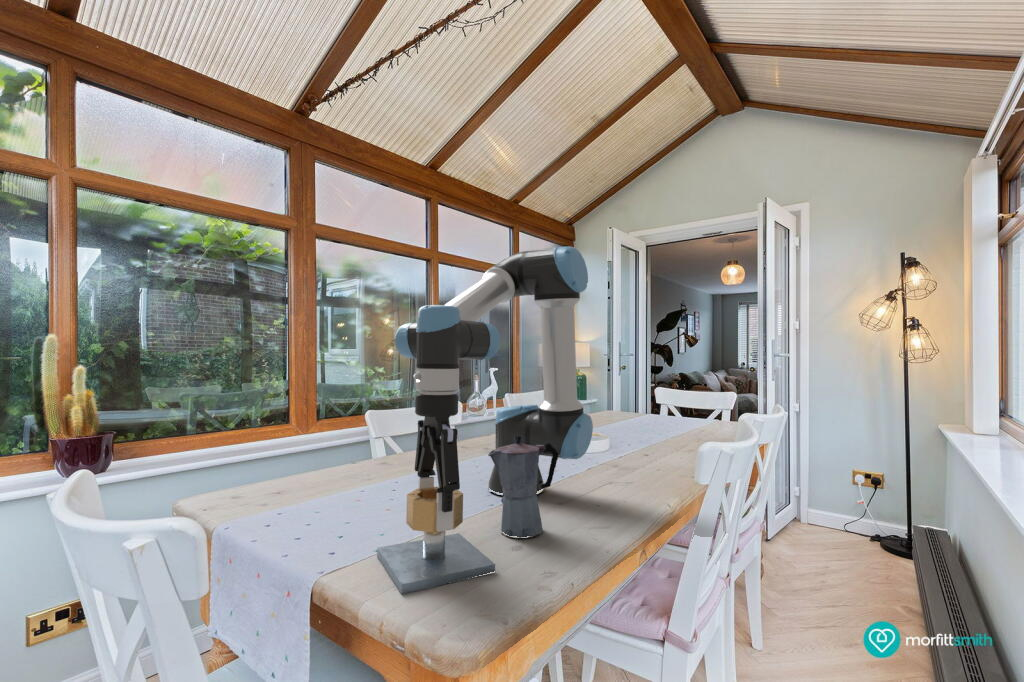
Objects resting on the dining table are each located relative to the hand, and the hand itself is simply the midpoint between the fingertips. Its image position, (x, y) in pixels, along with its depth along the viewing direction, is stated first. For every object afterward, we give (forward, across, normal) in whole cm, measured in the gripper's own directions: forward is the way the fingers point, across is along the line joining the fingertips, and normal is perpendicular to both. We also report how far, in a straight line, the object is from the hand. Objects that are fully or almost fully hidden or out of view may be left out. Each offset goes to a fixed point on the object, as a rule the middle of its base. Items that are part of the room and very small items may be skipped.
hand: (434, 521), depth 85 cm
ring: (0, 0, 0) cm, 0 cm away
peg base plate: (+7, 0, 0) cm, 7 cm away
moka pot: (+8, -7, +22) cm, 24 cm away
